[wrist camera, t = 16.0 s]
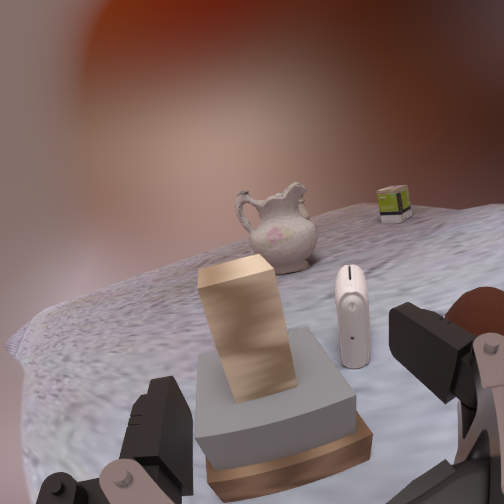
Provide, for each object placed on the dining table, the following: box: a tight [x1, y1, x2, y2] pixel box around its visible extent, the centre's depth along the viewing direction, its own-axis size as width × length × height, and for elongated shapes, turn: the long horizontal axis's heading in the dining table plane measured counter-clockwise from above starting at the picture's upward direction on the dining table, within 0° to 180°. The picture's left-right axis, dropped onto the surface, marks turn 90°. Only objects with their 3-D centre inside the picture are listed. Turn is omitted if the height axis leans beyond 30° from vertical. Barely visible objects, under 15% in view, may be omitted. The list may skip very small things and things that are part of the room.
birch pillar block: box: [198, 254, 298, 404], centre depth 21 cm, size 5×5×10 cm
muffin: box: [445, 287, 504, 337], centre depth 23 cm, size 12×11×10 cm
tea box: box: [376, 185, 412, 224], centre depth 110 cm, size 15×10×15 cm
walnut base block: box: [206, 411, 373, 503], centre depth 24 cm, size 14×14×5 cm
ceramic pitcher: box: [235, 182, 317, 275], centre depth 80 cm, size 22×20×25 cm
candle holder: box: [298, 189, 310, 220], centre depth 121 cm, size 9×9×20 cm
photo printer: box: [335, 265, 370, 369], centre depth 36 cm, size 10×4×12 cm, turn 162°
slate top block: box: [195, 327, 356, 471], centre depth 23 cm, size 12×12×5 cm
